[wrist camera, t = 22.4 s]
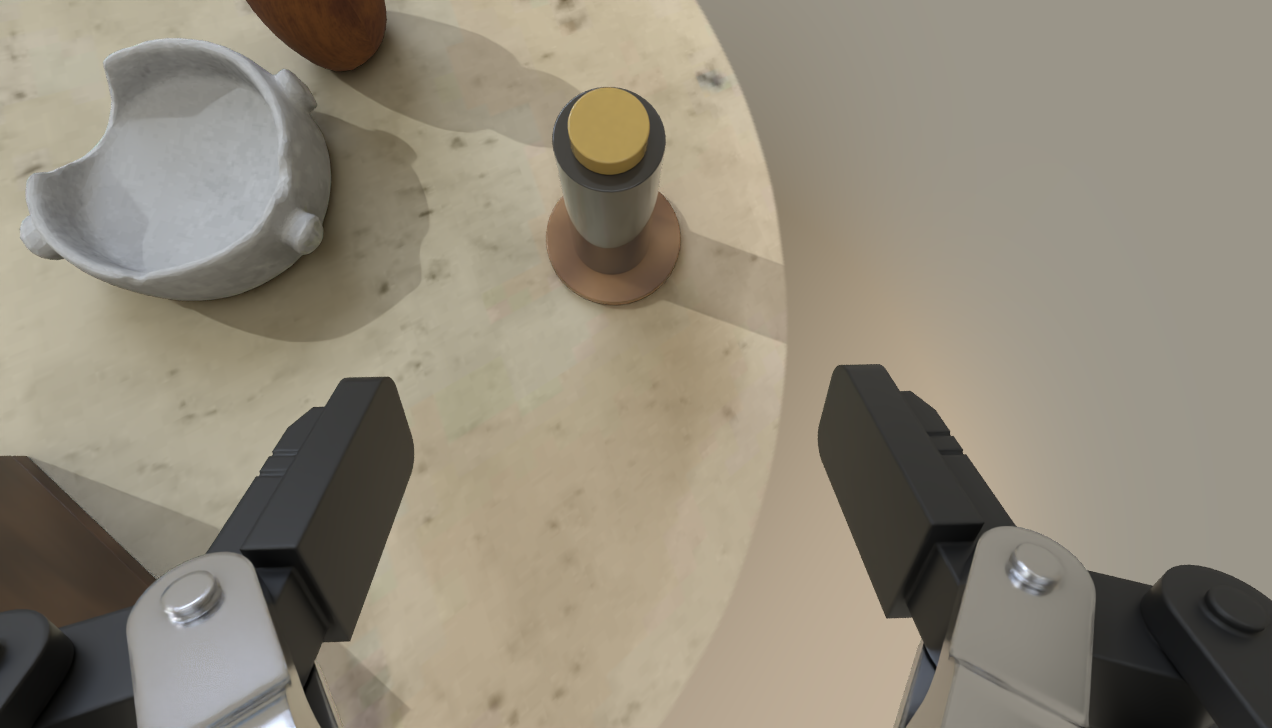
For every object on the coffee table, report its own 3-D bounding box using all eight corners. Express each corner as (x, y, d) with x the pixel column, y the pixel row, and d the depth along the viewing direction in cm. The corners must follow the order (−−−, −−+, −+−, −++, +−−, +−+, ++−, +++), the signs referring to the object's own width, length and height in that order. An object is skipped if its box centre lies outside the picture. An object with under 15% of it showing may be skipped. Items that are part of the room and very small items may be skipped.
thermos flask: (666, 234, 34) (692, 120, 22) (615, 290, 34) (614, 204, 22) (607, 185, 35) (602, 48, 23) (556, 240, 34) (524, 129, 22)
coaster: (706, 234, 35) (708, 230, 34) (620, 332, 34) (620, 330, 33) (606, 153, 36) (606, 148, 35) (519, 246, 34) (517, 243, 34)
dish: (80, 298, 33) (-14, 272, 28) (131, 79, 35) (52, 18, 30) (333, 320, 33) (284, 298, 28) (369, 101, 36) (329, 45, 31)
